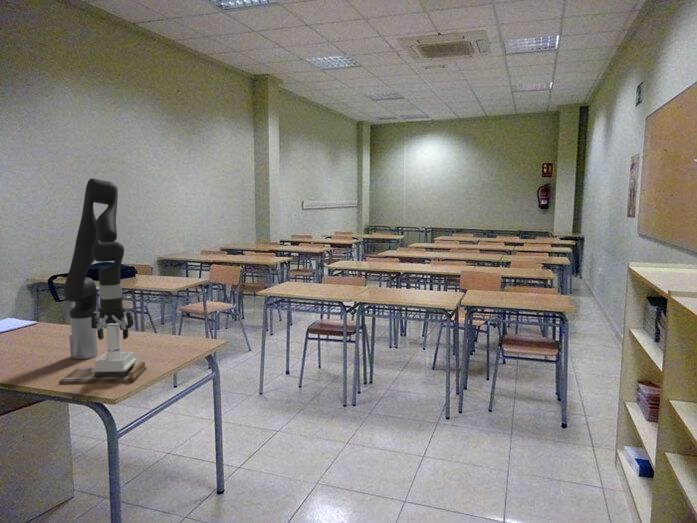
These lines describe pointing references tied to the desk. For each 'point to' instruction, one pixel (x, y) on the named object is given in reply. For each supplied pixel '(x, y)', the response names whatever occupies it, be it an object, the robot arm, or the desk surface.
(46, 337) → the desk surface
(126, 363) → the white open tray
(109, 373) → the track
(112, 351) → the tube
